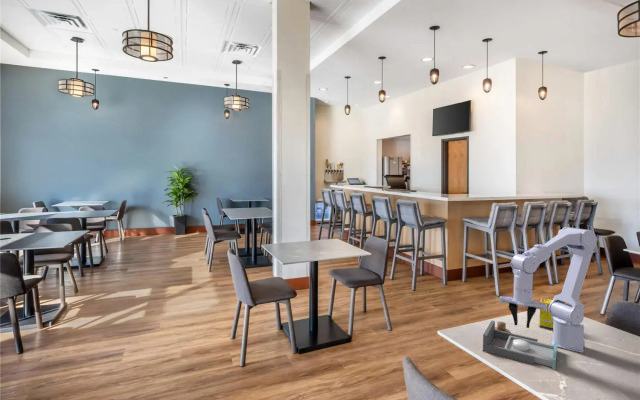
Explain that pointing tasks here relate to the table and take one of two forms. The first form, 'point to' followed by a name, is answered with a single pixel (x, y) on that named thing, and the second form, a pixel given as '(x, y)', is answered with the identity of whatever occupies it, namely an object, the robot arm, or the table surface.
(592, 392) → the table surface
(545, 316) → the supplement box
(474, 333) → the table surface
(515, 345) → the white round dome
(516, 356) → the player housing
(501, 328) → the disc stand
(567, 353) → the table surface
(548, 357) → the tray
